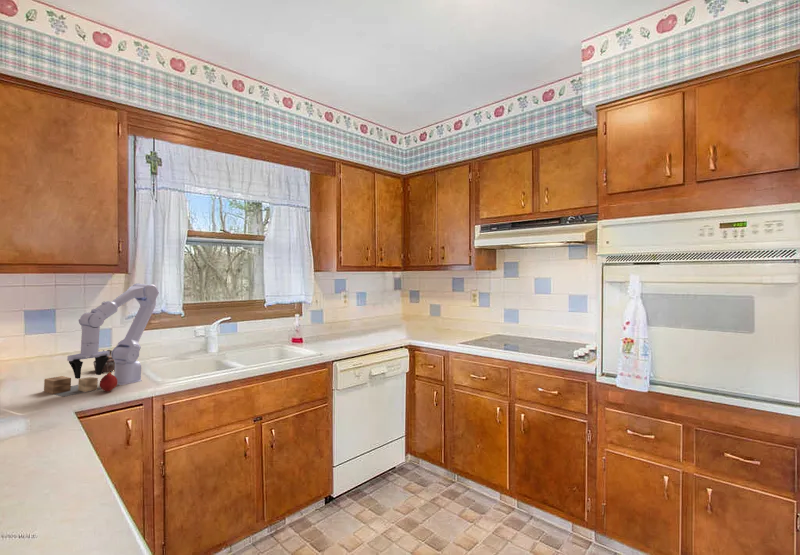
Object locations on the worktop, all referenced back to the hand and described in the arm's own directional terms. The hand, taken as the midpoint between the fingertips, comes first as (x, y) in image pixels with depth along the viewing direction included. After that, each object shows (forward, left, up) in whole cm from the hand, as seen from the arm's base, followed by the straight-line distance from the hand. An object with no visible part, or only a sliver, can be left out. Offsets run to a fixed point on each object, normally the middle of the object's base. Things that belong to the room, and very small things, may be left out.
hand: (88, 376), depth 166 cm
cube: (0, 0, -5) cm, 5 cm away
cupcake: (-24, -29, -6) cm, 38 cm away
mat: (+3, -4, -6) cm, 8 cm away
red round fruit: (-3, +8, -6) cm, 10 cm away
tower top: (+7, -7, -3) cm, 10 cm away
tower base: (+7, -7, -5) cm, 11 cm away
